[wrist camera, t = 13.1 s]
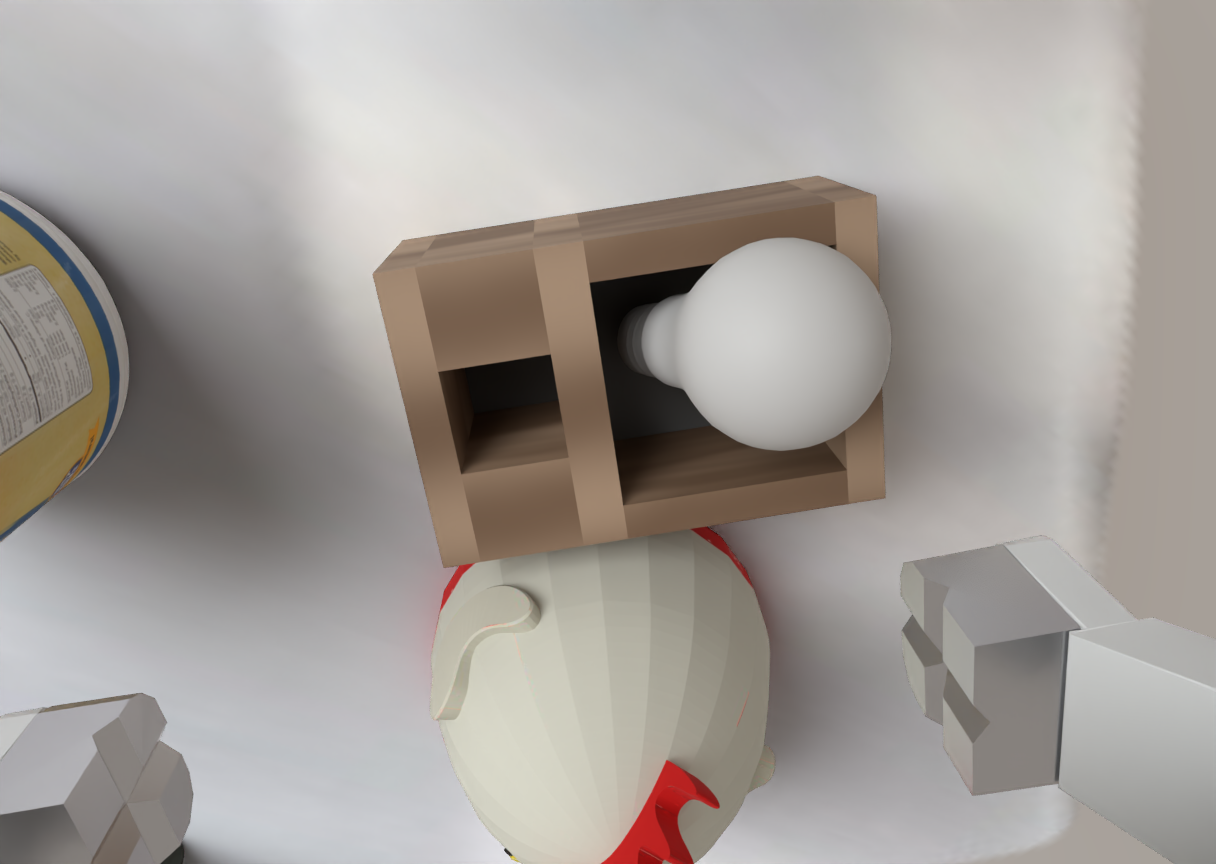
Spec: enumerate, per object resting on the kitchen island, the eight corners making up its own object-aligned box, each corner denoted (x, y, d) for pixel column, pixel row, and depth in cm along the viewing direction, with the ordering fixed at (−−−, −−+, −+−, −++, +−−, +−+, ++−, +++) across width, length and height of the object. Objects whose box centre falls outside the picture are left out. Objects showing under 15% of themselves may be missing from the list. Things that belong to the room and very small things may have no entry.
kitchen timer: (372, 667, 38) (274, 1001, 24) (569, 428, 35) (585, 657, 21) (623, 812, 42) (663, 1171, 28) (823, 609, 39) (980, 904, 25)
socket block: (402, 240, 32) (372, 273, 26) (818, 175, 32) (876, 195, 26) (459, 491, 36) (443, 568, 30) (832, 433, 36) (885, 498, 30)
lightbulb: (728, 342, 35) (968, 353, 26) (630, 456, 33) (848, 511, 24) (640, 218, 32) (871, 179, 23) (528, 335, 31) (728, 343, 21)
